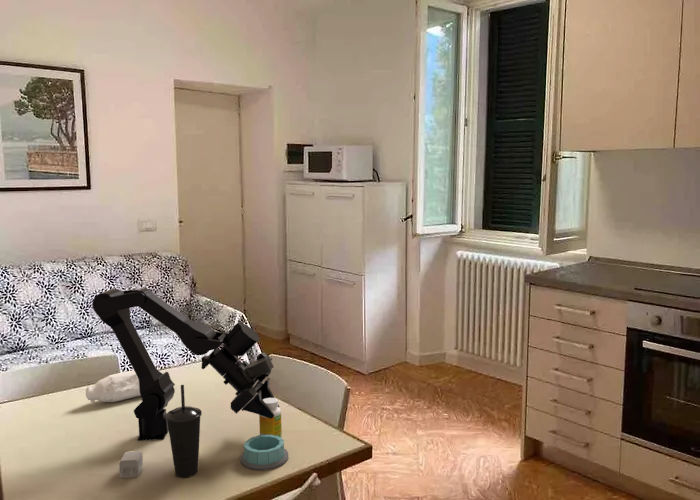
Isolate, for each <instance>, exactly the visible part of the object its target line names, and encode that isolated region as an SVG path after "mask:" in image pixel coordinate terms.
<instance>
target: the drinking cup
mask: <svg viewBox="0 0 700 500" xmlns="http://www.w3.org/2000/svg"><path fill="white" fill-rule="evenodd" d="M180 396H181V397H180V398H181V400H180V403H181V406H178V407H175V408H173V409H171V410H169V411H168V412H166V415H165V418H166V420H167V423H168V429H169V431H168V435H169V443H170V446H171V447H170V448H171V453H172V455H171V456H172V461H173V467H174V474H175V477H177V478H180V479H186V478H191V477H194V476H195V475H197V474H198V472H199V455H200V452H199V450H200V435H201V434H200V431H201V429H200V428H201V416H202V413H203V412H202V410H201V409H200V408H199V407H193V406H187V405H186V401H185V385H184V384H181V385H180Z"/></svg>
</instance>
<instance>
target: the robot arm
mask: <svg viewBox="0 0 700 500" xmlns="http://www.w3.org/2000/svg"><path fill="white" fill-rule="evenodd" d="M91 306H92V308H93V311H94V312H95V314H96V315H97V317H98V318H99V320H101V322H103V323H104V324H105V325H107V326H108V327H109V328H110V329H111V330H112V331H113V333H114V335H115V337H116V338H117V341H118V343H119V345H120V346H121V348H122V350H123V352H124V354H125V356H126V357H127V360H128V362H129V364H130V365H131V368H132V369H133V370H134V371H135V373H136V375H137V377H138V379H139V391H140V395H141V396H140V397H141V400H142V401H141V402H140V403H138V405H137V406H136V407H135V408H133V414H134V415H135V418H136V419H138V421H137V423H138V437H137V438H136V439H137V441H142V442H143V441H157V440H158V441H160V440H161V441H162V440H165V438H166V437H167V434H169V429H168V423H167V420H166V418H165V415H166V414H167V409H166V407H168V405H169V402H170V401H172V399H173V398H174V395H175V392H176V390H175V389H176V388H175V385H176V384H175V383H174V382H173V381H172V378H171V376H170V373H169V372H168V371H165V372H161V371H159V370H158V368H157V367H156V365H155V364H154V362H153V359H152V358H151V356H150V354H149V353H148V350H147V349H146V346H145V345H144V343H143V341H142V338H141V337H140V335H139V333H138V332H137V329H136V328H135V325H134V324H133V322H132V319H131V308H137V307H138V308H140V309H141V310H143V311H144V312H145V313H146V314H148V315H149V316H151V317H153V318H154V319H155V320H157V321H158V322H159V323H161V324H162V325H164V326H165V327H166V328H168V329H169V330H170V331H171V332H173V333H175V334H176V335H177V337H178V338H179V339H180V341H181V342H182V345H184V346H185V347H186V348H187V349H188V350H189V352H191V353H192V354H193V355H194V356H198V357H199V356H203V357H201V359H200V360H201V370H205V369H206V368H207V367H209V365H210V366H211V367H212V368H213V369H214V370H215V371H216V372H217V373H218V374H219V375H220V376H221V377H222V379H224V380H223V384H224V385H225V386H227V385H230V386H231V387H232V388H233V389H234V390H235V391H236V392H235V394H234V395H235V397H234V398H233V399H232V401H231V402H230V410H232V411H233V412H234V413H235V414H238V413H239V412H240V411H242V412H244V411H245V412H249V413H252V414H256V415H262V416H265V417H268V418H271V419H272V418H273V417H274V414H273V412H272V411H271V410H270V408H269V407H268V406H267V405H266V403H265V402H264V401H263V399H265V398H276V397H275V395H274V394H273V392H272V390H271V388H270V380H271V378H270V374H271V373H272V372H271V371H272V369H273V368H274V365H273V362H272V360H273V358H272V357H270V356H269V355H268V354H267V353H265V352H264V351H262V352H261V353H259V354H258V355H257V356H256V360H254V361H253V362H251V363H249V362H248V361H247V360H246V361H245V360H243V362H242V361H241V360H240V359H239V358H238V357H244V356H245V355H246V354H247V352H249V351H250V350H251V349H252V348H253V347H254V346H255V345H256V344H257V343H258V342H259V341H260V337H259V335H258V333H257V332H256V330H254V329H253V328H252V327H250V326H248V325H246V324H243V322H241V321H238V322H236V323H235V325H233V327H232V329H231V330H230V331H229V332H227V333H226V332H221V331H216V330H215V329H214V328H212V327H210V326H209V325H206V324H204V323H202V322H199V321H195V320H193V319H190V318H189V317H187V316H185V315H184V314H183V313H181V312H179V310H177V309H175V307H173V306H171V305H170V304H168V303H167V302H166V301H164V300H163V299H162V298H160V297H159V296H157V295H156V294H154V293H153V291H152V290H151V289H150V288H148V287H147V288H146V287H143V288H140V289H127V290H120V289H118V288H112V289H108V290H106V291H103V292H101V293H98V294H97V295H96V296H95V297H94V298H93V301H92V304H91ZM222 345H223V346H222ZM220 346H222V347H221V348H219V347H220ZM209 351H211V352H210V353H209ZM208 353H209V355H207V354H208ZM266 378H267V379H266ZM265 379H266V380H265ZM277 407H279V408H280V405H279V404H278V406H277Z"/></svg>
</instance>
